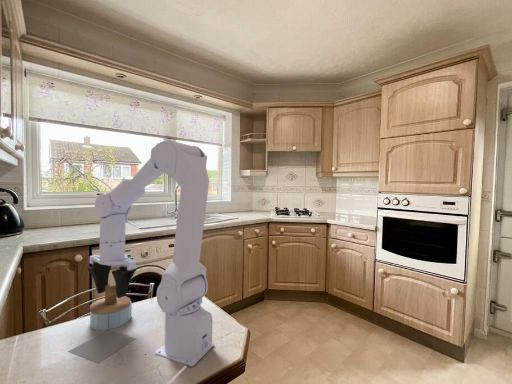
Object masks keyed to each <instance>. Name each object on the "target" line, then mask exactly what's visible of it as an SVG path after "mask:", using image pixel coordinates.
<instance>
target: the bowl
mask: <svg viewBox="0 0 512 384" xmlns="http://www.w3.org/2000/svg"><path fill="white" fill-rule="evenodd" d="M132 308H133V302H132V301H131V300H130V305H129V306H128V307H127V308H125V309H123V310H121V311H118V312H115V313H110V314H93V313H91V312H90V311H89V324H90V328H91V329H94V330H99V331H103V330H105V331H107V330H111V329H114V328H119V327H121V326H123V325H125V324H127V323H128V322H130V320H131V317H132V315H133V314H132Z"/></svg>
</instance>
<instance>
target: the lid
mask: <svg viewBox="0 0 512 384" xmlns="http://www.w3.org/2000/svg"><path fill="white" fill-rule="evenodd" d="M130 301H131V298H130V297H129V296H127V295H126V296H123V297H121V298H117V295H116V284H115V283H110V284H109V283H108V285H106V286H105V292H104V297H103V298H100V299H97V300H95V301H94V302H92V303H91V304H90V305H89V313H90V312H91V313H93V314H110V313H115V312H118V311H121V310H123V309H125V308H127V307H128V306H129V305H130Z"/></svg>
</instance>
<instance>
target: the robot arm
mask: <svg viewBox="0 0 512 384" xmlns="http://www.w3.org/2000/svg"><path fill="white" fill-rule="evenodd" d="M207 160H208V155H206V153H205V152H204V151H203V150H202V149H201V148H200V147H198V146H196V145H190V144H186V143H183V142H178V141H174V140H172V139H169V138H162V139H160V140H158V142H157V143H156V144H155V146H153V147H152V148H151V150H150V158H149V159H148V160H147V161H145V163H144V164H143V166H142V167H140V169H139V170H138V171H137V172H136V173H135V174H134V176H127V177H123V178H122V179H121V181H120V183H119V182H118V184H117V185H116V186H115V187H114V188H112V190H111V191H110V192H106V193H99V194H98V196H97V198H95V201H94V209H95V214H96V215H97V216H98V217H99V251H98V252H99V253H98V254H94V255H90V256H89V264H91V265H90V266H88V267H87V271H88V272H89V273H90V275H91V277H92V280H93V281H94V284H95V288H96V291H97V294H102V293H105V286H106V285H109V277H110V273H111V274H112V276H113V279H114V284H116V295H117V298H121V297H123V296H126V297H127V293H128V289H129V286H130V283H131V280H132V278H133V276H134V274H135V273H136V271H137V260H135V259H132V258H129V257H128V254H126V223H127V222H128V220H129V214H130V212H131V211H132V210H131V209H132V206H133V204H135V203H136V202H137V201H138V200H139V199H141V197H143V196H144V195H145V192H146V187H147V186H149V185H150V184H152V183H153V182H154V181H155V180H157V179H159V178H160V177H161V176H163V175H164V174H166V175H167V176H169V177H170V178H171V179H173V180H174V182H176V183H177V185H178V186H179V187H180V193H179V200H178V201H179V202H178V210H177V211H178V212H177V218H176V227H175V237H174V245H173V254H172V261H171V263H170V264H169V265H168V267H167V268H166V269H165V270H164V271H163V273H162V275H161V281H160V283H159V285H158V286H157V290H156V302H157V305H158V307H159V308H160V309H161V310H162V312H163V313H164V345H162V346H161V347H159V348H158V349H157V350H155V352H154V355H157V356H159V357H163V358H166V359H169V360H170V361H174V362H177V363H182V364H184V365H186V366H188V367H194V366H195V365H196V364H197V363H198V362H199V361H200V360H201V359H202V358H203V357H204V356H205V355H206V353H208V352H209V351H210V350H211V348H213V347H214V346H215V342H214V341H213V316H212V313H211V312H210V311H208V310H206V309H205V308H203V307H202V306H201V305H202V303H203V298H204V297H205V296H206V295H207V293H208V289H209V283H208V279H207V270H208V269H207V268H206V266H204V265H203V264H202V263H201V262H200V261H201V260H200V258H201V253H202V243H203V234H204V227H205V219H206V209H207V204H208V203H207V202H208V195H209V187H210V186H209V184H210V179H209V175H208V170H207V162H208V161H207ZM112 267H114V268H118V269H115V270H111V269H112Z"/></svg>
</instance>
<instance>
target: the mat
mask: <svg viewBox="0 0 512 384" xmlns="http://www.w3.org/2000/svg"><path fill="white" fill-rule="evenodd" d="M135 340H137V338H136V337H132V336H130V335H126V334H123V333H120V332H117V331H114V330H111V329H106V330H105V331H103V332H101V333H100V334H98V335H96V336H94V337H92V338H91V339H88V340H86V341H84V342H83V343H81V344H79V345H77V346H76V347H73V348H72V349H71V348H70V350H68V351H67V352H68V353H71V354H73V355H76V356H79V357H81V358H84V359H85V360H89V361H91V362H94V363H96V364H100V363H101V362H103V361H104V360H106V359H108V358H109V357H110V356H112V355H114V354H115V353H117V352H118V351H120V350H122V349H123V348H124V347H126V346H128V345H129V344H131V343H133V342H134V341H135Z"/></svg>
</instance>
